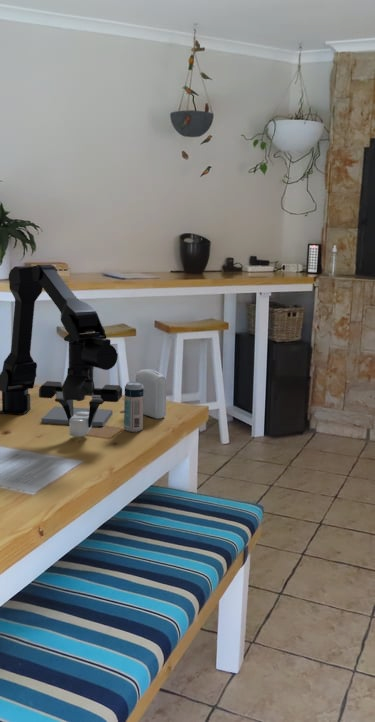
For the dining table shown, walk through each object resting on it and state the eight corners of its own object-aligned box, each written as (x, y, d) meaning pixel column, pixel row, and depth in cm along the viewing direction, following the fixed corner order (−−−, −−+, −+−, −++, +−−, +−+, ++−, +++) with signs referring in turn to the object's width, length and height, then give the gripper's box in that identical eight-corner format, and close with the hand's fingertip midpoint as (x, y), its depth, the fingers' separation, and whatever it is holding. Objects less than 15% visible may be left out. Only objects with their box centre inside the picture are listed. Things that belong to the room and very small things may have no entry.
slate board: (41, 422, 177) (41, 418, 177) (54, 410, 189) (54, 406, 189) (102, 426, 176) (102, 422, 176) (112, 414, 188) (112, 409, 187)
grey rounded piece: (67, 436, 161) (67, 421, 160) (79, 422, 172) (79, 408, 171) (84, 437, 160) (84, 422, 160) (95, 423, 172) (95, 409, 171)
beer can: (145, 428, 176) (146, 382, 173) (138, 433, 171) (139, 386, 169) (128, 426, 177) (129, 380, 175) (120, 431, 173) (121, 384, 170)
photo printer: (132, 411, 191) (133, 367, 189) (145, 409, 194) (146, 365, 191) (155, 420, 183) (156, 374, 181) (168, 417, 186) (169, 372, 184)
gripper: (31, 367, 155) (31, 434, 158) (113, 371, 153) (112, 439, 156) (45, 357, 166) (46, 420, 169) (123, 361, 164) (121, 425, 167)
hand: (80, 426), depth 165 cm, fingers closed on grey rounded piece, 4 cm apart
